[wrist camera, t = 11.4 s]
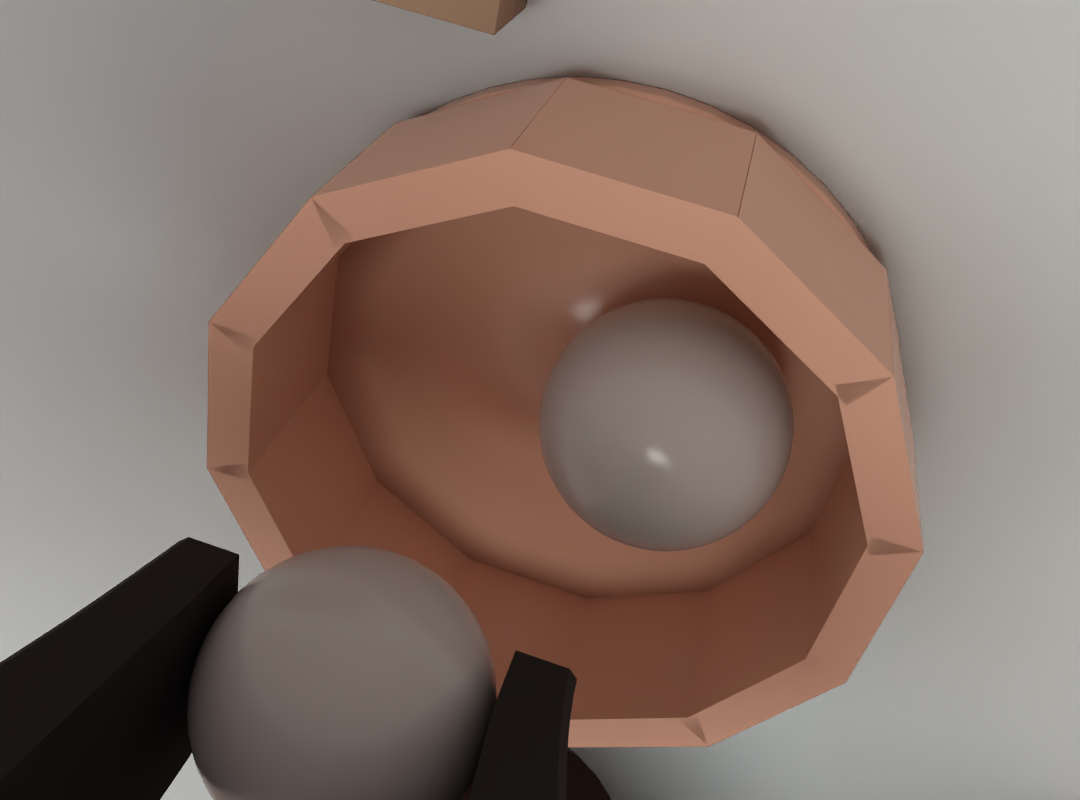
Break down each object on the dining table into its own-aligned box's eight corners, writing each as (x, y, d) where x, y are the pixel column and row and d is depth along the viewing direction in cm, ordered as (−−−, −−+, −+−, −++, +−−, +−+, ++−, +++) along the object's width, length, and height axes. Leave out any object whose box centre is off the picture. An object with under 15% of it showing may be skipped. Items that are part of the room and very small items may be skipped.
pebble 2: (531, 421, 15) (504, 574, 13) (576, 230, 13) (557, 362, 11) (740, 467, 15) (757, 628, 13) (814, 283, 13) (851, 427, 11)
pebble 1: (272, 640, 13) (131, 864, 11) (278, 452, 11) (109, 666, 9) (506, 718, 13) (420, 967, 10) (552, 536, 11) (462, 786, 8)
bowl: (294, 500, 18) (205, 626, 16) (335, -6, 13) (211, 59, 11) (775, 661, 18) (762, 821, 15) (1020, 191, 12) (1065, 314, 10)
